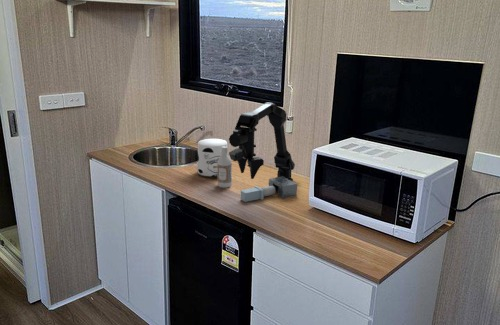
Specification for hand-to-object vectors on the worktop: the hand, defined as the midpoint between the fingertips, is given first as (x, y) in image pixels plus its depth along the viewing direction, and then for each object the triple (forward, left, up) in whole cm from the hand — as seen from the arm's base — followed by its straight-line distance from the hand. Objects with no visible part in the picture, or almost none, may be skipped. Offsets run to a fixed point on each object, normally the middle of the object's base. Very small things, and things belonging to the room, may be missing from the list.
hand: (247, 175), depth 197 cm
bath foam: (0, -22, -12) cm, 25 cm away
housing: (-20, 0, -12) cm, 23 cm away
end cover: (-6, 0, -12) cm, 13 cm away
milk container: (-2, -40, -12) cm, 42 cm away
